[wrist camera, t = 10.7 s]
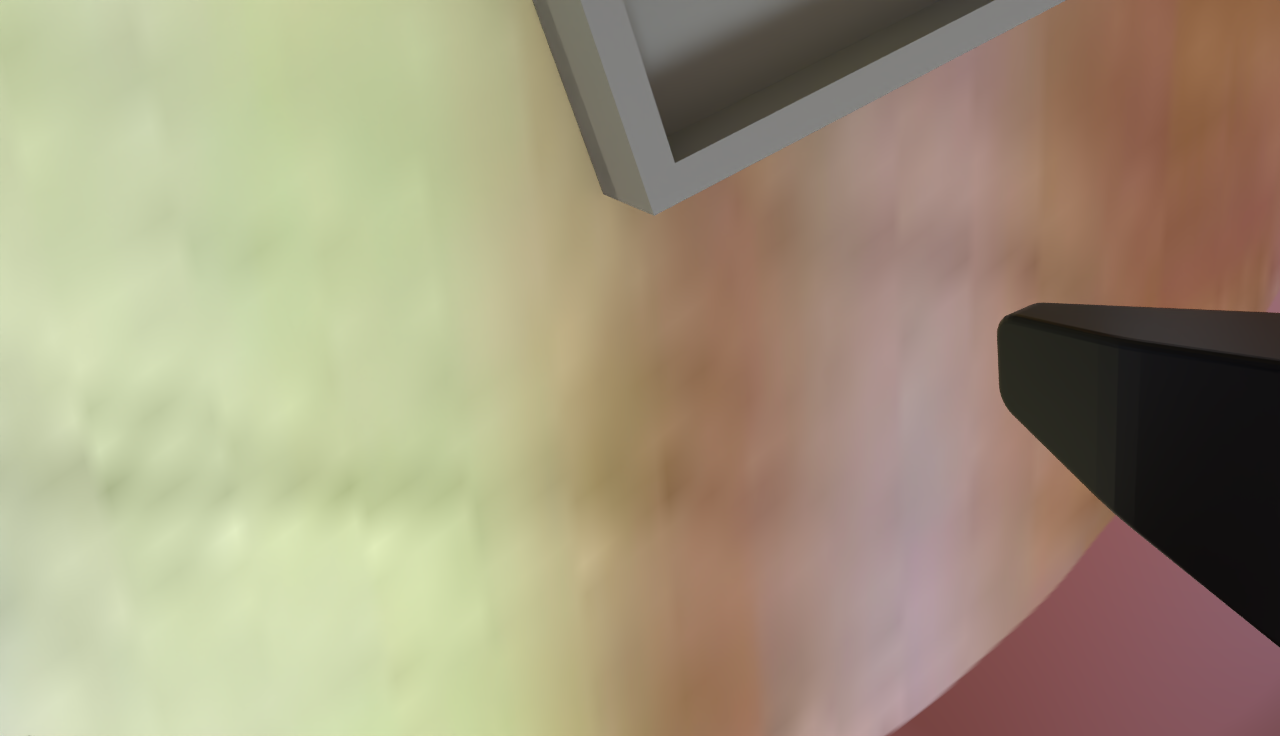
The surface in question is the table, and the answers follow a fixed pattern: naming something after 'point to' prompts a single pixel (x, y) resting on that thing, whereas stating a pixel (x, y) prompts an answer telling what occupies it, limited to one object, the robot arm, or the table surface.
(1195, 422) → the robot arm
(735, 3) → the tray
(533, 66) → the table surface
